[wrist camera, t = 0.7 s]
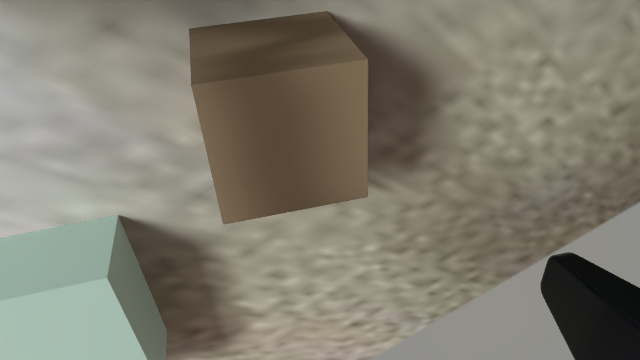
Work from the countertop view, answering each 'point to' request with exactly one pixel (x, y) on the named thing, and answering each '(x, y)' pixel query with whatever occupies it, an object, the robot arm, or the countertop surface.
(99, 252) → the sage block
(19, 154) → the countertop surface
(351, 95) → the walnut cube
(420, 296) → the countertop surface
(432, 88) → the countertop surface
